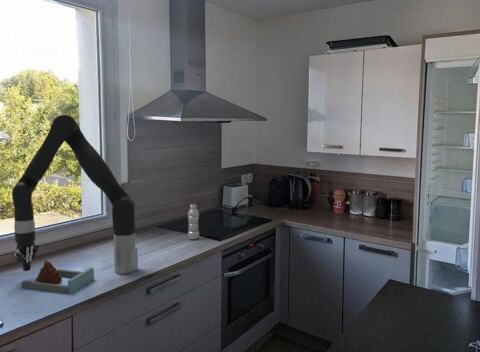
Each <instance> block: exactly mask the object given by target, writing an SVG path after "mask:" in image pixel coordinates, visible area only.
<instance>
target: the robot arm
mask: <svg viewBox="0 0 480 352" xmlns="http://www.w3.org/2000/svg"><path fill="white" fill-rule="evenodd" d="M63 143H66V144H67V146H69V148H70V149H71V150H72V152H73V153H74V156H75V158H76V160H77V162H78V163H79V166H80V167H81V169H82V170H83V172H84V173H85V175H86V176H87V178H88V179H89V180H90V181H91V182H92V183H93V184H94V185H95V186H96V187H98V189H99V190H101V191H102V192H103V193H104V194H105V196H106V198H107V199H108V200H109V202H110V204H111V206H112V207H111V211H112V213H111V215H112V231H113V258H114V259H113V260H114V261H113V262H114V272H115V273H116V274H119V275H127V274H131V275H132V274H133V273H134V272H135V271H138V270H139V264H138V263H139V260H138V259H139V257H138V248H137V247H136V221H135V220H136V218H135V217H136V216H135V208H136V206H135V205H136V204H135V201H134V200H133V199H132V198H131V196H130V195H129V194H127V192H126V191H125V190H124V189H123V187H122V186H121V185H120V183H119V182H118V181H117V179H116V177H115V175H114V174H113V172H112V171H111V169H110V167H109V166H108V165H107V163H106V162H105V160H104V159H103V158H102V156H101V155H100V154H99V152H98V151H97V150H96V149H95V147H94V146H93V145H91V143H90V142H89V141H88V140H87V138H86V137H85V135H84V133H83V132H82V130H81V129H80V126H79V124H78V123H77V121H76V119H75V118H74V117H73V116H71V115H70V114H64V113H62V114H58V115H57V116H55V117H54V118H53V120H52V123H51V126H50V128H49V130H48V132H47V136H46V137H45V138H44V141H43V143H42V144H41V146H40V147H39V148H38V150H37V151H36V153H35V155H34V156H33V157H32V159H31V160H30V161H29V164H28V165H27V167H26V168H25V170H24V172H23V175H22V176H21V177H20V179H19V180H18V181H17V182H16V184H15V185H14V186H13V188H12V192H11V197H12V203H13V208H14V209H13V212H14V215H13V216H14V225H13V226H14V241H15V243H16V250H15V252H12V254H11V255H12V256H13V258H14V259H15V260H16V261H17V262H18V263H22V271H24V272H29V271H31V266H32V264H31V262H32V259H35V257H36V255H37V253H38V250H39V248H40V245H39V244H36V242H35V241H36V240H37V239H36V238H37V237H36V223H35V222H36V221H35V217H34V216H35V215H34V213H35V211H34V207H33V200H32V198H33V192H34V191H35V190H36V187H37V186H38V185H39V182H40V181H41V180H42V178H43V177H44V175H45V174H46V173H47V171H48V170H49V168H50V166H51V165H52V162H53V161H54V158H55V156H56V154H57V153H58V151H59V149H60V148H61V146H63Z"/></svg>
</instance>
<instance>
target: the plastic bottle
mask: <svg viewBox="0 0 480 352" xmlns="http://www.w3.org/2000/svg"><path fill="white" fill-rule="evenodd" d="M197 207H198V206H197V203H190V204H189V210H188V212H187V219H188V231H187V238H188V239H189V240H198V239H199V238H200V230H199V216H200V213H199V210H198V209H197Z"/></svg>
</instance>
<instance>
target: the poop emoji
mask: <svg viewBox="0 0 480 352" xmlns="http://www.w3.org/2000/svg"><path fill="white" fill-rule="evenodd" d="M43 262H44V264H43V266H42V267H41V268H40V270H39V272H38V275H37V277H36V278H35V281H34V282H42V283H50V284H58V285H59V284H60V282H61V281H62V279H63V277H61V276H60V275H59V271H58V269H59V268H58V267H56V266H54V265H53V264H52V262H50V261H48V260H44V261H43Z"/></svg>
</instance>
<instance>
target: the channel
mask: <svg viewBox="0 0 480 352" xmlns="http://www.w3.org/2000/svg"><path fill="white" fill-rule="evenodd" d="M57 269H58V271H59V275H60V276H61V278H70V279H68V280H67V285H66V284H59V283H58V284H50V283H42V282H35V281H32V280H25V279H24V280H22V281H21V289H28V290H36V291H45V292H51V293H53V292H54V293H59V294H60V293H62V294H73V293H74V292H76V291H78V290H79V289H81V288H83V287H84V286H86V285H87V284H89V283H90V282H92V281H94V279H95V273H94V272H95V268H94V267H88V268H87V269H86V270H84V271H77V270H70V269H59V268H57Z"/></svg>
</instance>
